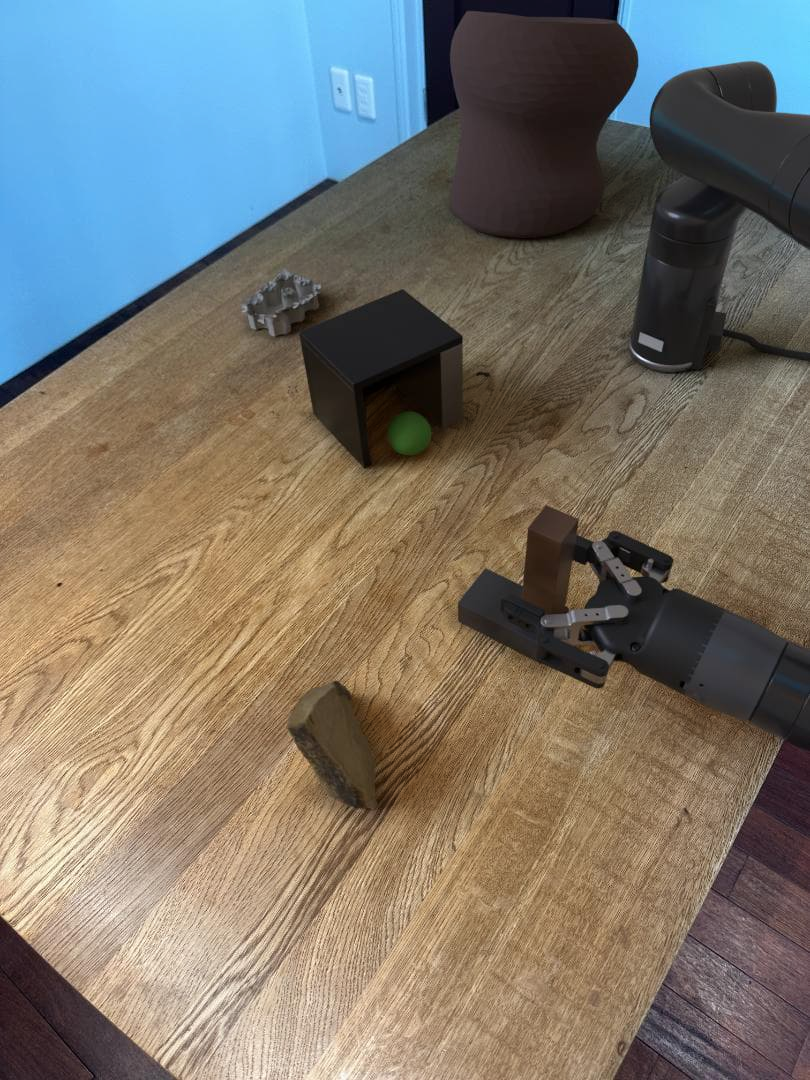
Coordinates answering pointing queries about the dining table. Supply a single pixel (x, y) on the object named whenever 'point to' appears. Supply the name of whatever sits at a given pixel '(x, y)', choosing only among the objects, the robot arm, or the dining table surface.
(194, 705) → the dining table surface
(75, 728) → the dining table surface
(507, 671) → the dining table surface
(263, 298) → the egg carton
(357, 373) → the black open box
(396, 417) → the ball
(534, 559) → the post on dark base
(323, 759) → the rock
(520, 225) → the vase
